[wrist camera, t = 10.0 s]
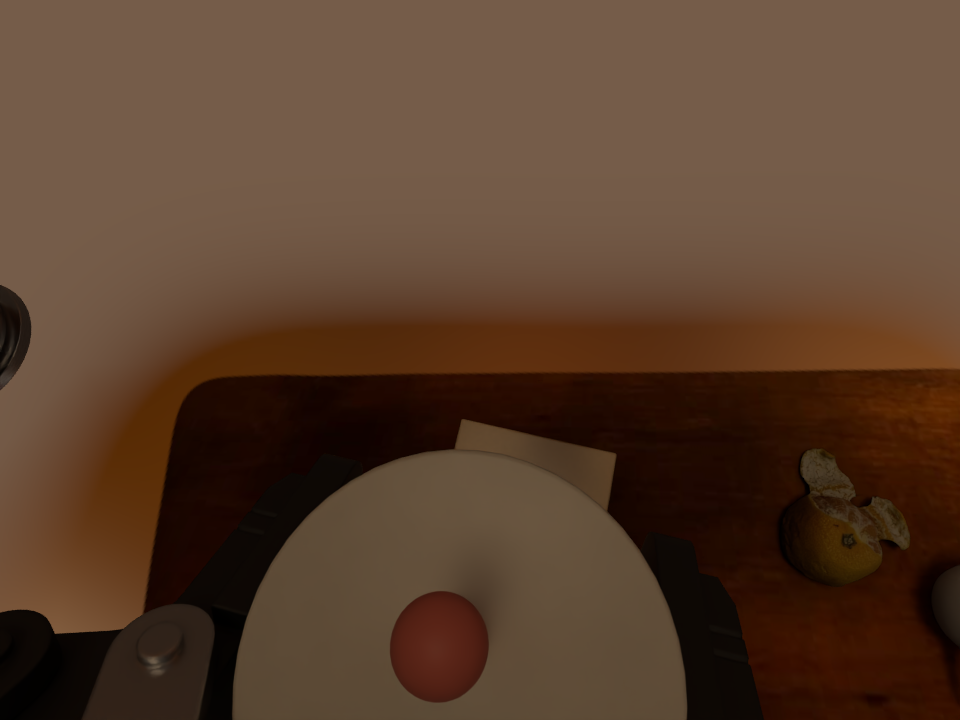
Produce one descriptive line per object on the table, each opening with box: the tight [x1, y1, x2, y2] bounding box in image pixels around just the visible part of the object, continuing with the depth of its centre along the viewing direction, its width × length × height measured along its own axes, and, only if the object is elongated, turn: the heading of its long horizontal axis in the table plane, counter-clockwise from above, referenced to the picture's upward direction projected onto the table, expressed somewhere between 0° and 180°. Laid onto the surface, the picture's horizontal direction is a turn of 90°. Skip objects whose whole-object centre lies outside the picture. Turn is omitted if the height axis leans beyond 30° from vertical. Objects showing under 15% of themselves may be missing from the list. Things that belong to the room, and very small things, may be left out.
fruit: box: [780, 449, 910, 587], centre depth 36 cm, size 8×8×4 cm
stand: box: [454, 419, 616, 511], centre depth 34 cm, size 9×9×10 cm
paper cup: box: [232, 449, 687, 720], centre depth 9 cm, size 6×6×13 cm
